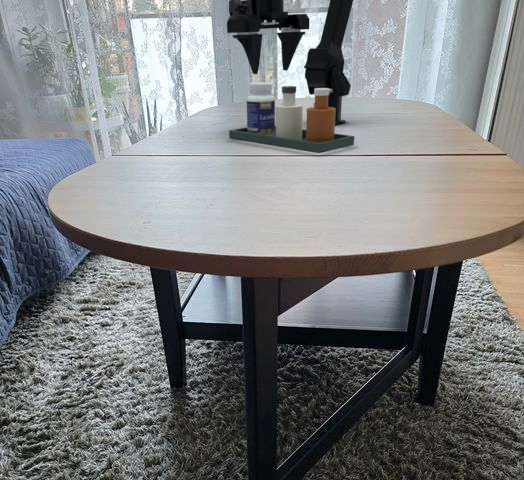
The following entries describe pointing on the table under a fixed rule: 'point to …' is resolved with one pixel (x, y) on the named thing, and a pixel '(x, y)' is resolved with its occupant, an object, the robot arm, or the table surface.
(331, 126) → the amber bottle
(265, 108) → the pill bottle
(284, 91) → the white bottle
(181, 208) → the table surface
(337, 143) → the tray
